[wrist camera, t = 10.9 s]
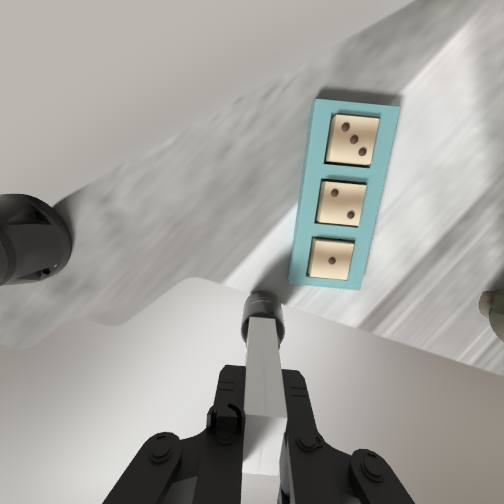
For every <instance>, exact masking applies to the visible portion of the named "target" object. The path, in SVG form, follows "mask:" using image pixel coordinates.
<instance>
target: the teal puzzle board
mask: <svg viewBox="0 0 504 504" xmlns="http://www.w3.org/2000/svg"><path fill="white" fill-rule="evenodd" d="M399 112H400V107H397V106H386V105H376V104H366V103H355V102H345V101H334V100H324V99H315V100H314V102H313V103H312V108H311V115H310V122H309V129H308V137H307V144H306V151H305V158H304V166H303V173H302V180H301V187H300V195H299V202H298V209H297V217H296V224H295V231H294V238H293V246H292V253H291V260H290V267H289V275H288V280H289V283H290V284H297V285H308V286H319V287H329V288H340V289H351V290H360V289H361V284H362V280H363V275H364V271H365V266H366V262H367V257H368V252H369V248H370V243H371V239H372V234H373V230H374V225H375V221H376V216H377V212H378V207H379V203H380V198H381V194H382V189H383V185H384V180H385V175H386V171H387V166H388V162H389V157H390V153H391V148H392V144H393V139H394V135H395V130H396V126H397V121H398V117H399ZM335 115H346V116H357V117H367V118H378V119H379V124H378V129H377V134H376V139H375V144H374V149H373V154H372V159H371V164H369V165H364V168H359V167H349V166H338V165H328V164H323V163H324V157H325V151H326V144H327V138H328V131H329V125H330V119H331V117H334V116H335ZM321 179H330V180H341V181H351V182H361V184H360V185H366V191H365V196H364V201H363V206H362V210H361V215H360V220H359V225H358V226H355V225H343V224H332V223H322V222H314V221H315V214H316V208H317V202H318V195H319V189H320V182H321ZM312 236H316V237H327V238H337V239H348V240H349V242H351V243H353V244H354V247H353V252H352V257H351V262H350V267H349V272H348V277H347V280H342V279H331V278H320V277H310V275H309V273H308V272H307V265H308V259H309V253H310V246H311V240H312Z"/></svg>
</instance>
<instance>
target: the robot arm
mask: <svg viewBox="0 0 504 504" xmlns="http://www.w3.org/2000/svg"><path fill="white" fill-rule="evenodd" d="M70 252H71V240H70V235H69V232H68V229H67V227H66V225H65V223H64V221H63V220H62V218H61V217H60V216H59V214H58V213H57V212H56V211H55V210H54V209H53V208H52V207H50V206H49V205H48V204H46V203H45V202H43V201H41V200H39V199H38V198H35V197H32V196H29V195H25V194H4V195H0V286H2V285H13V284H24V283H34V282H38V281H42V280H44V279H47V278H49V277H51V276H53V275H55V274H57V273H58V272H60V271H61V270H62V269H63V268H64V267H65V265H66V264H67V262H68V260H69V257H70ZM279 467H280V480H281V482H280V488H279V494H278V500H277V504H415V503H414V501H413V500H412V498H411V497H410V495H409V494H408V493H407V491H406V489H405V488H404V486H403V485H402V484H401V482H400V481H399V479H398V478H397V476H396V475H395V473H394V472H393V470H392V469H391V467H390V466H389V465H388V464H387V462H386V461H385V460H384V459H383V458H382V457H381V456H379V455H378V454H376V453H375V452H373V451H370V450H368V449H358V450H356V451H354V452H353V454H352V456H351V455H349V454H346V453H344V452H342V451H339V450H337V449H335V448H333V447H331V446H330V445H328V444H327V443H326V442H325V441H324V439H323V437H322V436H321V435H320V434H319V432H318V430H317V428H316V424H315V419H314V415H313V411H312V407H311V403H310V399H309V394H308V391H307V386H306V382H305V379H304V377H303V376H302V375H301V373H300V372H299V371H297V370H286V369H281V363H280V356H279V347H278V340H277V332H276V324H275V319H268V318H257V317H250V319H249V329H248V339H247V349H246V362H245V366H234V365H225V367H224V368H223V369H222V370H221V371H220V374H219V379H218V385H217V390H216V395H215V400H214V405H213V406H212V407H211V408H210V409H209V412H208V414H207V425H206V429H205V430H204V431H202V432H201V433H200V434H198V435H196V436H193V437H190V438H186V439H182V440H180V439H179V437H178V436H177V435H175V434H173V433H170V432H162V433H157V434H155V435H154V436H152V437H150V438H149V439H148V440H147V441H146V442H145V443H144V444H143V446H142V447H141V448H140V450H139V451H138V453H137V454H136V456H135V457H134V459H133V460H132V461H131V463H130V464H129V466H128V467H127V468H126V470H125V471H124V473H123V474H122V476H121V477H120V479H119V480H118V482H117V483H116V484H115V486H114V487H113V489H112V490H111V491H110V493H109V494H108V496H107V497H106V499H105V500H104V502H103V503H102V504H241V503H240V502H241V483H242V473H252V474H264V475H275V476H278V473H279Z"/></svg>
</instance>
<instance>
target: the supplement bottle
mask: <svg viewBox="0 0 504 504" xmlns="http://www.w3.org/2000/svg"><path fill="white" fill-rule="evenodd" d="M243 312H244V313H243V319H242V326H241V335H242V338H243V340H244V342H245V343H246V349H247V339H248V329H249V319H250V317H257V318H268V319H275V324H276V332H277V340H278V347H279V348H280V344H281V342H282V340H283V338H284V334H285V327H284V321H283V315H282V308H281V303H280V301H279V299H278V298H277V297H276V296H275V295H274V294H272V293H270V292H268V291H258V292H255V293H253V294H251V295H250V296H249V297H248V298H247V300H246V302H245V305H244V311H243Z"/></svg>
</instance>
